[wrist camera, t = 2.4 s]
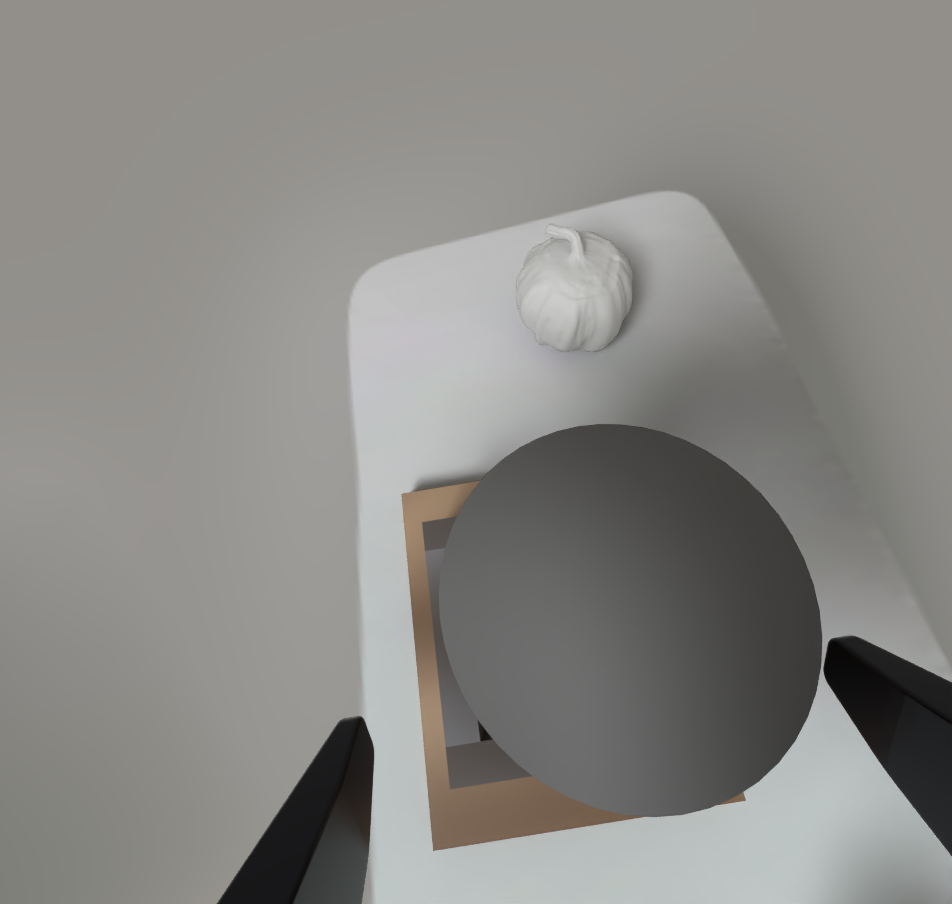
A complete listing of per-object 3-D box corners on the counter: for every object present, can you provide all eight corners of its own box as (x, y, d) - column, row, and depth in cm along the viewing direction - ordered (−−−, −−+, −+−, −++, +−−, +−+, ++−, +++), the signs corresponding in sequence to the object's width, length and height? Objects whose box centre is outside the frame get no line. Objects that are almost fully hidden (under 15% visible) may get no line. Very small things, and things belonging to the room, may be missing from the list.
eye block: (731, 790, 15) (802, 838, 12) (437, 838, 15) (414, 900, 12) (630, 463, 20) (657, 422, 16) (406, 500, 20) (382, 468, 16)
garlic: (495, 298, 24) (491, 213, 19) (588, 266, 25) (607, 175, 20) (540, 388, 22) (549, 316, 17) (642, 351, 22) (679, 271, 17)
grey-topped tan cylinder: (627, 684, 16) (900, 779, 5) (497, 705, 16) (465, 849, 5) (594, 552, 18) (734, 400, 7) (478, 572, 18) (421, 452, 7)
